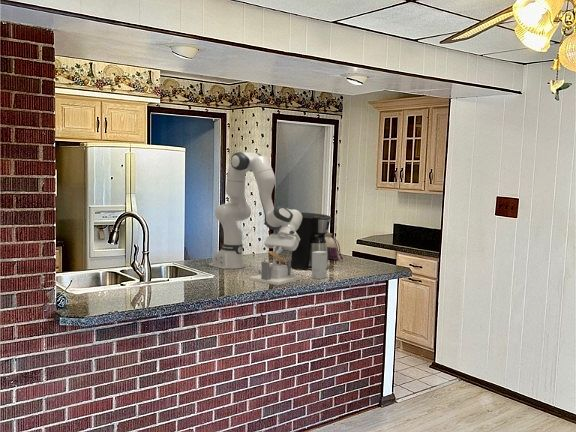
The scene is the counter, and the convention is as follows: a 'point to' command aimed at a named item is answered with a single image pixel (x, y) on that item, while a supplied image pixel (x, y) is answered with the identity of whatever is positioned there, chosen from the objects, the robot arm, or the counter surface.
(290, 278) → the socket board
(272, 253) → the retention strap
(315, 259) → the skincare box
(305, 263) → the coffee maker
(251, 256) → the counter surface
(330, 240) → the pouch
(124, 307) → the counter surface
